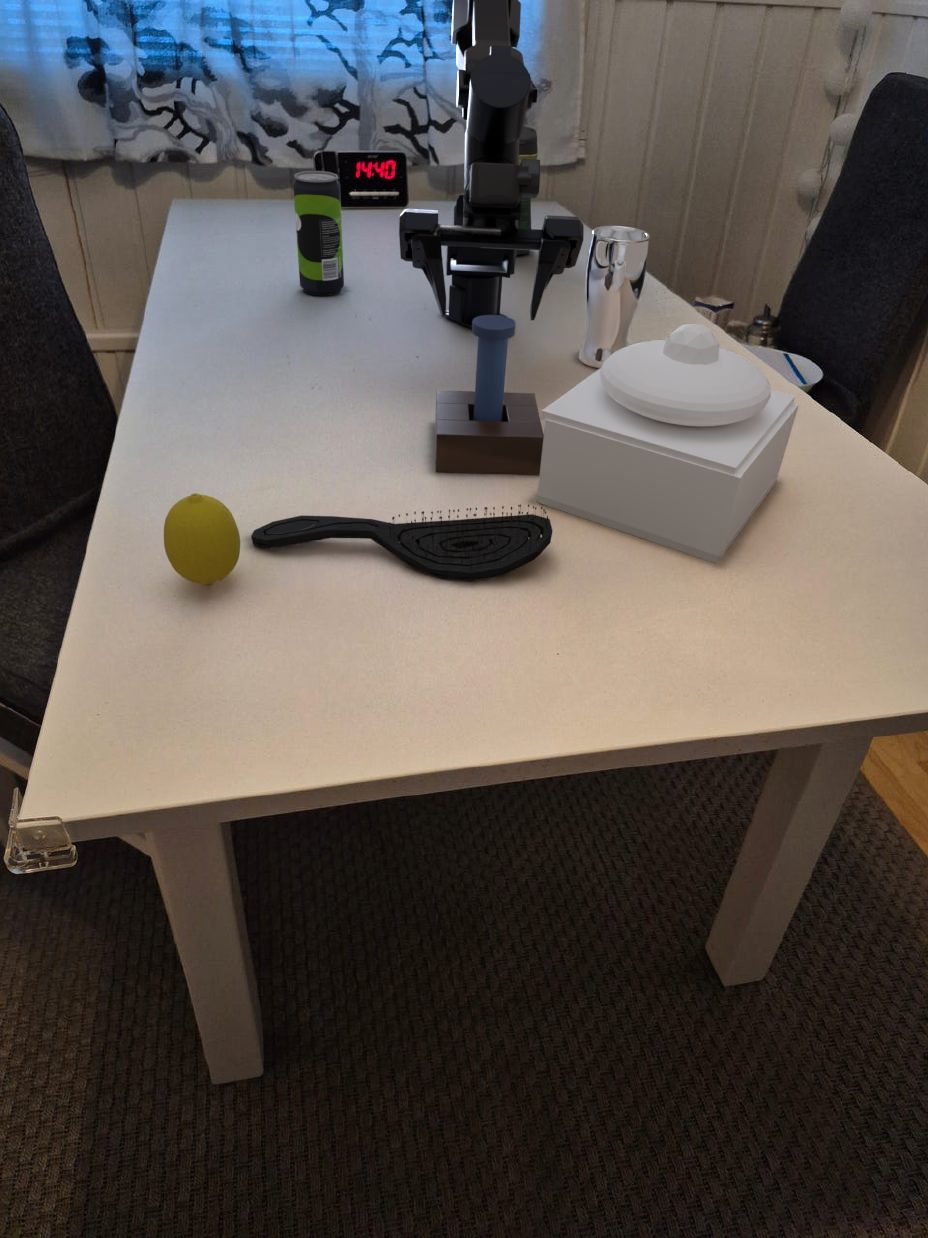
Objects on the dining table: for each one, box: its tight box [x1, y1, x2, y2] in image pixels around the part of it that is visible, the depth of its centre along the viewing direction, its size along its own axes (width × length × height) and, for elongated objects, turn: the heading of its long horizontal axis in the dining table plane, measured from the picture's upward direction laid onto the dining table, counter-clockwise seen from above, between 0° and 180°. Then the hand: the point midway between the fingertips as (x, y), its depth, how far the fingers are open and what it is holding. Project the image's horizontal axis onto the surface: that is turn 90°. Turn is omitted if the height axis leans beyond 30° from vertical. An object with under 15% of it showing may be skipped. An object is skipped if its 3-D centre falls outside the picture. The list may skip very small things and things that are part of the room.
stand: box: [434, 389, 544, 476], centre depth 88 cm, size 10×10×4 cm
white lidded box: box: [536, 323, 800, 564], centre depth 79 cm, size 18×18×16 cm
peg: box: [471, 315, 517, 422], centre depth 85 cm, size 4×4×13 cm
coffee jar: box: [516, 124, 539, 256], centre depth 141 cm, size 10×8×19 cm
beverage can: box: [292, 170, 345, 297], centre depth 122 cm, size 6×6×15 cm
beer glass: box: [578, 225, 651, 369], centre depth 105 cm, size 7×7×15 cm
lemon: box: [163, 492, 241, 586], centre depth 67 cm, size 6×6×8 cm
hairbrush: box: [250, 503, 553, 582], centre depth 73 cm, size 8×4×25 cm
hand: (488, 316), depth 90 cm, fingers open, 9 cm apart
